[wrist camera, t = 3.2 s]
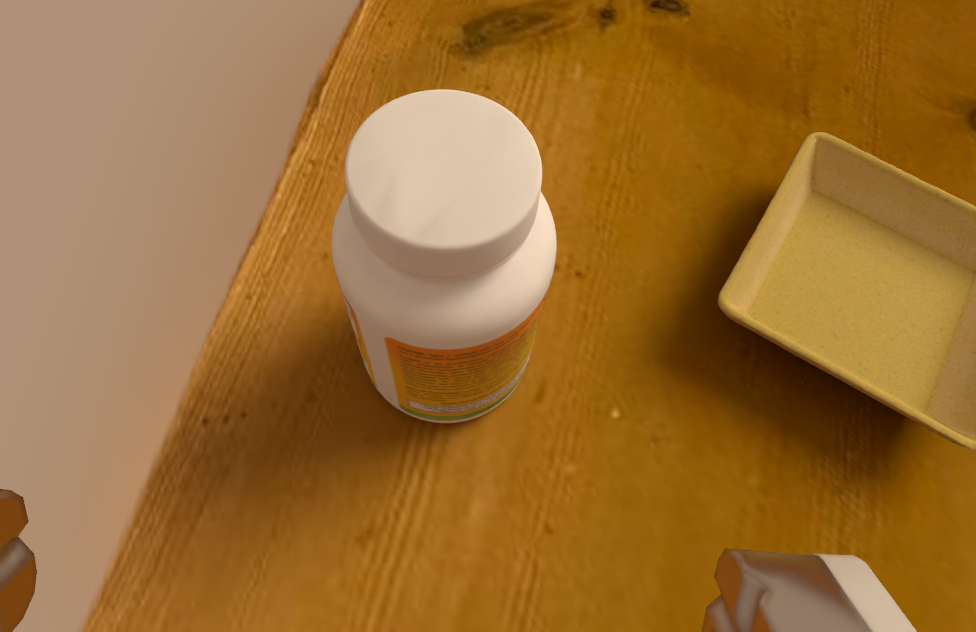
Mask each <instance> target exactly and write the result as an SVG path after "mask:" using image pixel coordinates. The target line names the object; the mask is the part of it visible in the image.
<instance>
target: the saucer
mask: <svg viewBox="0 0 976 632" xmlns="http://www.w3.org/2000/svg"><path fill="white" fill-rule="evenodd" d="M718 305H719V307H720V309H721V310H722V311H723V312H724V313H725V314H726V315H727V317H729V318H730V319H731V320H733V321H734V322H736V323H738V324H740V325H742V326H743V327H745V328H747V329H749V330H751V331H752V332H754V333H756V334H758V335H760V336H762V337H763V338H765V339H767V340H769V341H771V342H772V343H774V344H776V345H778V346H780V347H781V348H783V349H785V350H787V351H788V352H790V353H792V354H794V355H795V356H797V357H799V358H801V359H803V360H805V361H806V362H808V363H810V364H812V365H814V366H815V367H817V368H819V369H821V370H823V371H824V372H826V373H828V374H830V375H832V376H834V377H835V378H837V379H839V380H841V381H842V382H844V383H846V384H848V385H850V386H851V387H853V388H855V389H857V390H859V391H860V392H862V393H864V394H866V395H868V396H869V397H871V398H873V399H875V400H877V401H878V402H880V403H882V404H884V405H886V406H888V407H889V408H891V409H893V410H895V411H896V412H898V413H900V414H902V415H903V416H905V417H907V418H909V419H911V420H912V421H914V422H916V423H918V424H920V425H921V426H923V427H925V428H927V429H929V430H930V431H932V432H934V433H936V434H938V435H939V436H941V437H943V438H945V439H947V440H949V441H951V442H953V443H956V444H958V445H961V446H963V447H966V448H968V449H971V450H976V206H974V205H972V204H970V203H968V202H966V201H964V200H962V199H959V198H957V197H955V196H953V195H951V194H949V193H947V192H945V191H943V190H941V189H939V188H938V187H935V186H933V185H931V184H928V183H926V182H924V181H922V180H920V179H918V178H917V177H915V176H913V175H911V174H908V173H906V172H904V171H902V170H900V169H898V168H896V167H894V166H892V165H890V164H888V163H886V162H884V161H882V160H880V159H878V158H876V157H874V156H872V155H871V154H869V153H867V152H864V151H862V150H860V149H858V148H856V147H854V146H853V145H851V144H849V143H847V142H845V141H843V140H841V139H839V138H837V137H835V136H832V135H830V134H828V133H824V132H817V133H813V134H810V135H808V136H807V137H806V138H805V140H804V142H803V143H802V145H801V147H800V149H799V151H798V153H797V154H796V156H795V158H794V160H793V162H792V164H791V166H790V167H789V169H788V171H787V173H786V175H785V177H784V179H783V181H782V182H781V184H780V186H779V188H778V189H777V191H776V193H775V195H774V197H773V199H772V201H771V202H770V204H769V206H768V208H767V210H766V212H765V214H764V215H763V217H762V219H761V221H760V222H759V224H758V226H757V228H756V230H755V232H754V234H753V235H752V237H751V239H750V240H749V242H748V244H747V246H746V247H745V249H744V251H743V253H742V254H741V256H740V258H739V260H738V262H737V264H736V265H735V267H734V269H733V271H732V273H731V274H730V276H729V278H728V279H727V281H726V283H725V285H724V286H723V288H722V289H721V292H720V293H719V297H718Z"/></svg>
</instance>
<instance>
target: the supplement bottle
mask: <svg viewBox="0 0 976 632" xmlns="http://www.w3.org/2000/svg"><path fill="white" fill-rule="evenodd" d="M344 170H345V183H346V189H347V193H346V194H345V196H344V198H343V200H342V202H341V204H340V206H339V208H338V211H337V213H336V217H335V220H334V224H333V230H332V241H331V245H332V257H333V263H334V268H335V272H336V276H337V280H338V284H339V287H340V289H341V292H342V296H343V298H344V302H345V305H346V308H347V311H348V314H349V317H350V321H351V324H352V327H353V331H354V334H355V337H356V340H357V344H358V347H359V350H360V353H361V356H362V359H363V363H364V365H365V368H366V370H367V372H368V375H369V377H370V379H371V381H372V382H373V384H374V386H375V387H376V389H377V390H378V391H379V392H380V394H381V395H382V396H383V397H384V398H385V399H386V400H387V401H388V402H389V403H390V404H392V405H393V406H394V407H396V408H397V409H399V410H400V411H402V412H404V413H406V414H408V415H410V416H412V417H415V418H418V419H421V420H425V421H430V422H435V423H457V422H463V421H468V420H471V419H475V418H477V417H480V416H482V415H484V414H486V413H488V412H490V411H491V410H493V409H494V408H496V407H497V406H499V405H500V404H501V403H502V402H503V401H504V400H505V399H507V398H508V397H509V396H510V394H511V393H512V392H513V391H514V389H515V388H516V387H517V385H518V384H519V382H520V380H521V378H522V376H523V374H524V372H525V369H526V367H527V364H528V361H529V357H530V354H531V350H532V346H533V343H534V339H535V335H536V332H537V328H538V324H539V320H540V317H541V313H542V310H543V306H544V303H545V299H546V296H547V292H548V289H549V285H550V282H551V278H552V274H553V270H554V265H555V258H556V231H555V225H554V221H553V217H552V214H551V211H550V209H549V206H548V204H547V202H546V200H545V198H544V196H543V194H542V193H541V191H540V190H541V183H542V163H541V158H540V154H539V151H538V148H537V145H536V143H535V141H534V139H533V137H532V135H531V133H530V132H529V131H528V130H527V128H526V127H525V126H524V124H523V123H522V122H521V121H520V120H519V119H518V118H517V117H516V116H515V115H513V114H512V113H511V112H510V111H509V110H508V109H506V108H504V107H503V106H501V105H499V104H497V103H496V102H494V101H492V100H490V99H487V98H485V97H482V96H479V95H476V94H472V93H468V92H463V91H457V90H441V89H440V90H426V91H421V92H416V93H412V94H408V95H405V96H402V97H399V98H397V99H395V100H393V101H391V102H389V103H387V104H385V105H384V106H382V107H381V108H379V109H378V110H376V111H375V112H374V113H372V114H371V115H370V116H369V117H368V118H367V119H366V120H365V121H364V122H363V124H362V125H361V126H360V127H359V129H358V130H357V132H356V133H355V135H354V137H353V138H352V140H351V143H350V145H349V148H348V151H347V155H346V160H345V169H344Z"/></svg>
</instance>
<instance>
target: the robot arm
mask: <svg viewBox="0 0 976 632" xmlns="http://www.w3.org/2000/svg"><path fill="white" fill-rule="evenodd" d="M27 523H28V517H27V513H26V509H25V504H24V500H23V497H21V496H20V495H18V494H16V493H14V492H13V491H11V490H3V489H0V632H12V631H13V630H14V629H15V627H16V626H17V625H18V624H19V622H20V621H21V620H22V619H23V617H24V615H25V612H26V610H27V608H28V606H29V603H30V601H31V599H32V597H33V594H34V592H35V591H34V590H35V583H36V574H37V569H36V563H35V557H34V553H33V552H32V551H31V550H30V549H29V548H28V547H27V546H26V545H25V544H24V542H23V541H22V540H21V539H20V538H19V537H18V535H19V534H20V533H21V531H22V530H23V529H24V527H25V526H26V524H27ZM714 577H715V580H716V582H717V584H718V587H719V589H720V592H721V595H720V596H719V597H718V598H716V599H715V600H714V601H713V602H712V603H711V604H709V605H708V606H707V607H706V612H705V617H704V622H703V627H702V632H917V631H916V630H915V628H914V627H913V626H912V624H911V623H910V622H909V620H908V619H907V618H906V616H905V615H904V614H903V612H902V611H901V610H900V608H899V607H898V606H897V604H896V603H895V601H894V600H893V599H892V597H891V596H890V595H889V593H888V592H887V591H886V589H885V588H884V587H883V585H882V584H881V583H880V581H879V580H878V579H877V577H876V576H875V575H874V573H873V572H872V570H871V569H870V568H869V566H868V565H867V564H866V563H865V562H864V561H862V560H861V559H859V558H858V557H856V556H852V555H833V554H814V553H812V554H810V555H806V554H793V553H780V552H766V551H753V550H740V549H727V548H725V550H724V551H723V553H722V554H721V556H720V558H719V560H718V564H717V568H716V571H715V575H714Z"/></svg>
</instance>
